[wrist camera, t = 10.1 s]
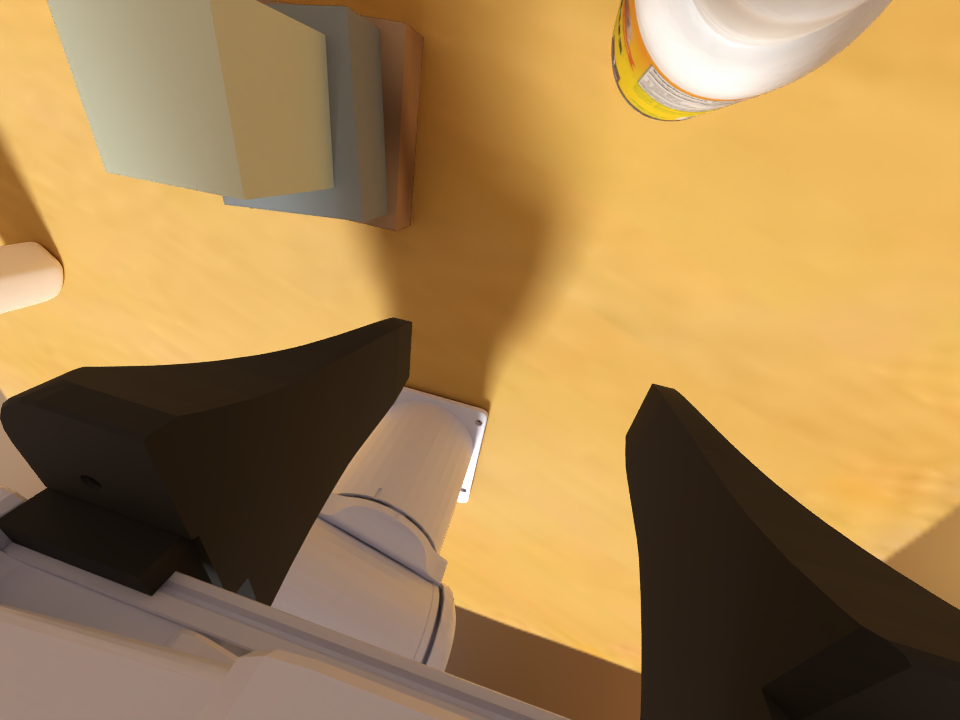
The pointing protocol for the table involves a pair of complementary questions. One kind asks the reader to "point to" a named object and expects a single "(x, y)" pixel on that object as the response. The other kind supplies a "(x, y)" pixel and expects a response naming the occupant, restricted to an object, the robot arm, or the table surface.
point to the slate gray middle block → (344, 120)
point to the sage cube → (202, 93)
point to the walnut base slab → (397, 115)
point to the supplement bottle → (725, 49)
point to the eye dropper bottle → (27, 276)
